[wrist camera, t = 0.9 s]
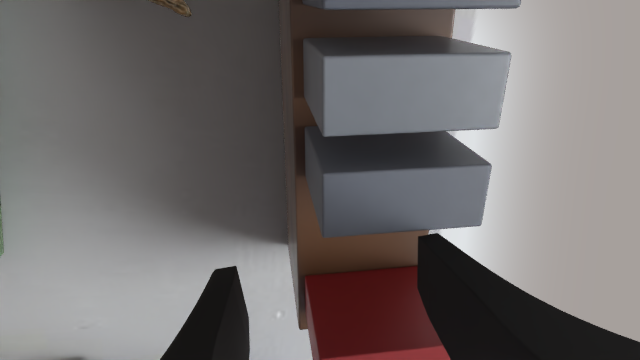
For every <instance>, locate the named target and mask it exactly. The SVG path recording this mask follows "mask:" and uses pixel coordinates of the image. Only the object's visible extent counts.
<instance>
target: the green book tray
mask: <svg viewBox="0 0 640 360" xmlns="http://www.w3.org/2000/svg"><path fill="white" fill-rule="evenodd" d="M3 253H4V251H3V234H2V216H1V199H0V256H1V255H2V254H3Z"/></svg>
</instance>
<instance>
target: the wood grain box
mask: <svg viewBox="0 0 640 360" xmlns="http://www.w3.org/2000/svg"><path fill="white" fill-rule="evenodd" d="M454 16H455V9H378V10H324V9H320V8H316V7H312V6H308V5H305V4H303V2H302V0H279V24H280V50H281V75H282V101H283V127H284V153H285V178H286V204H287V230H288V248H289V256H290V264H291V271H292V279H293V287H294V294H295V302H296V310H297V317H298V325H299V329H300V330H303V329H308V325H307V319H306V311H305V276H309V275H321V274H332V273H343V272H355V271H366V270H377V269H389V268H400V267H411V266H417V264H418V236H423V235H428V232H429V230H421V231H408V232H395V233H382V234H369V235H356V236H343V237H330V238H323V237H322V235H321V231H320V227H319V224H318V220H317V216H316V213H315V209H314V206H313V202H312V198H311V195H310V191H309V187H308V184H307V180H306V176H305V127H309V126H318V125H317V123H316V121H315V119H314V116H313V114H312V112H311V110H310V108H309V106H308V104H307V102H306V99H305V97H304V64H303V40H304V39H305V38H340V37H402V36H443V37H448V38H452V33H453V24H454Z"/></svg>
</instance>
